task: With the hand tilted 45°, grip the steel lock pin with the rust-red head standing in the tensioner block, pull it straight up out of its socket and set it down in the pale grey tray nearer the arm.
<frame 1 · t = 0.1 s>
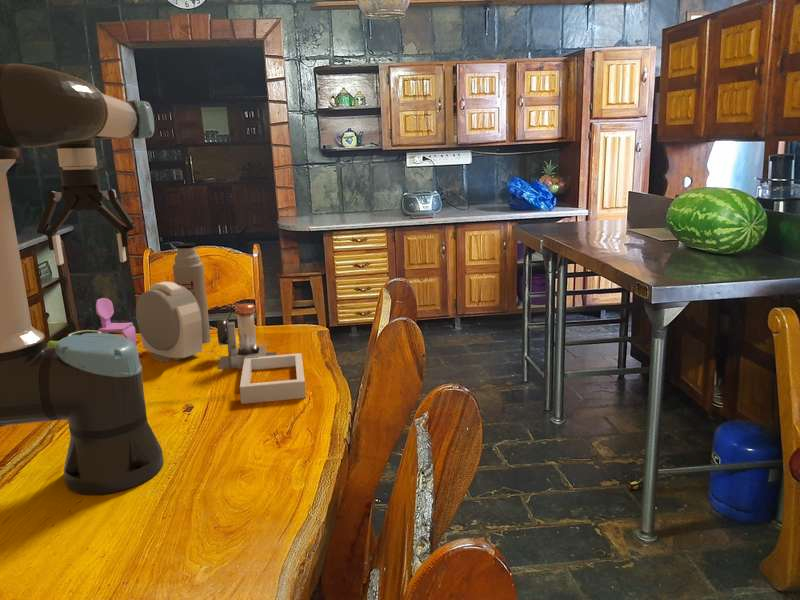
hand: (92, 262, 142), 28 cm above the table, tool pointing down, fingers open, 13 cm apart
toy chair: (117, 352, 168), on the table
turtle holder: (86, 382, 147), on the table
tensioner block: (248, 364, 156), on the table
thermos bottle: (196, 342, 176), on the table
tray: (274, 384, 142), on the table
lock pin: (249, 362, 154), point 1 cm above the table, touching tensioner block
beige rounded housing: (173, 359, 162), on the table
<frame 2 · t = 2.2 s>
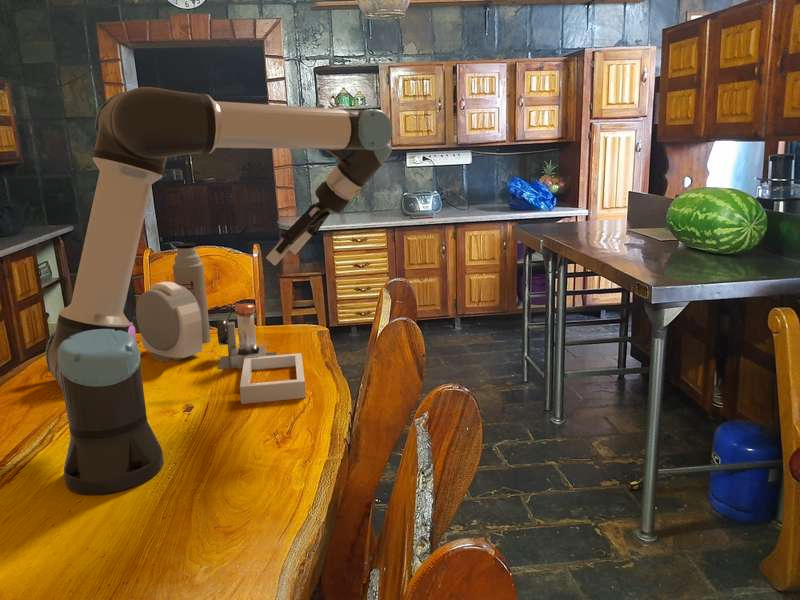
hand: (281, 256, 147), 28 cm above the table, tool tilted 45°, fingers open, 13 cm apart
nothing on the table moved.
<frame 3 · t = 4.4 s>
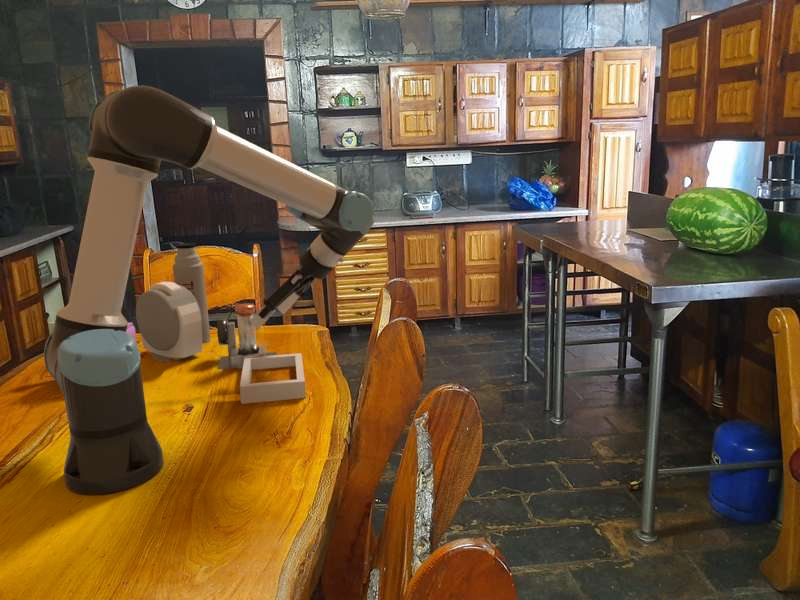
hand: (267, 317, 150), 13 cm above the table, tool tilted 45°, fingers open, 13 cm apart
nothing on the table moved.
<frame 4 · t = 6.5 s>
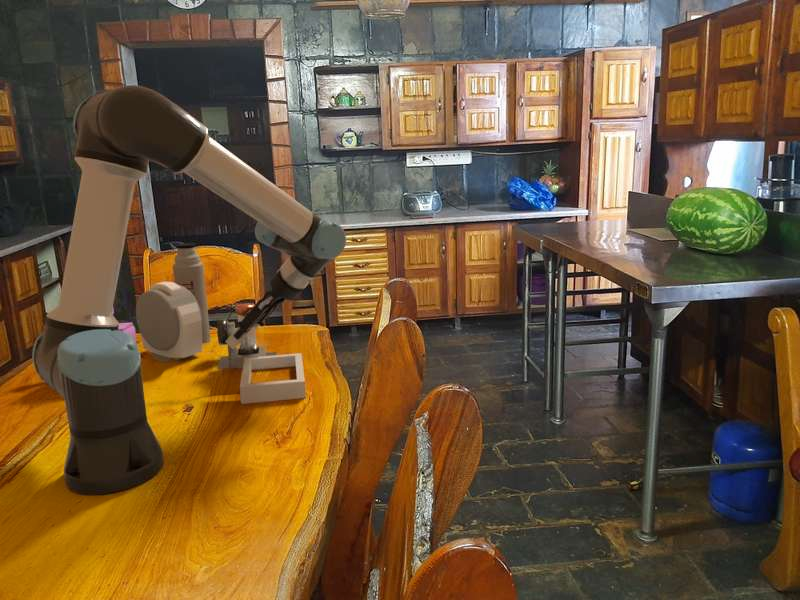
hand: (234, 342, 153), 6 cm above the table, tool tilted 45°, fingers closed on lock pin, 4 cm apart
lock pin: (249, 362, 154), point 1 cm above the table, touching gripper, tensioner block
everything else where it was.
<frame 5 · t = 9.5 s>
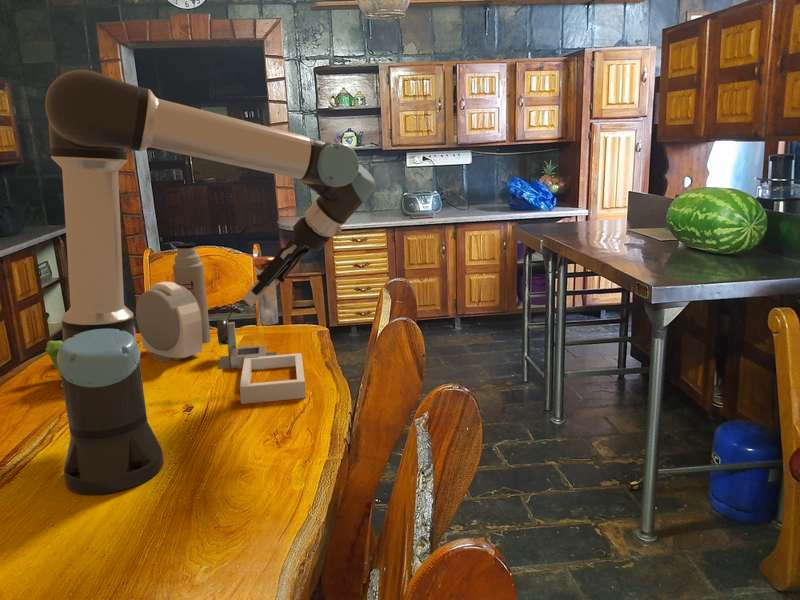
hand: (252, 299, 138), 20 cm above the table, tool tilted 45°, fingers closed on lock pin, 4 cm apart
lock pin: (269, 322, 139), point 15 cm above the table, touching gripper
everything else where it was.
when the fingers open (7 cm above the table, at t = 12.6 s): lock pin stays where it is, resting on tray.
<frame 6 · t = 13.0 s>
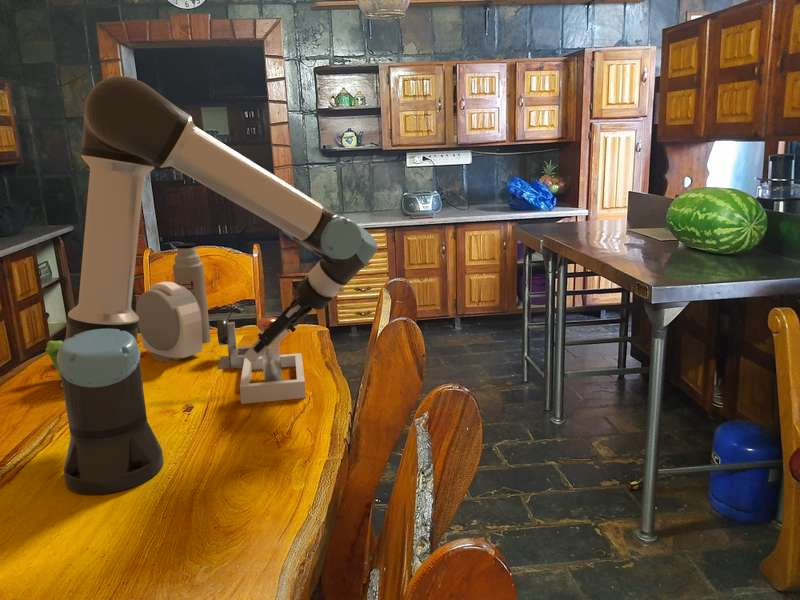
hand: (258, 352, 141), 8 cm above the table, tool tilted 45°, fingers open, 9 cm apart
lock pin: (273, 381, 142), point 1 cm above the table, touching tray
everything else where it was.
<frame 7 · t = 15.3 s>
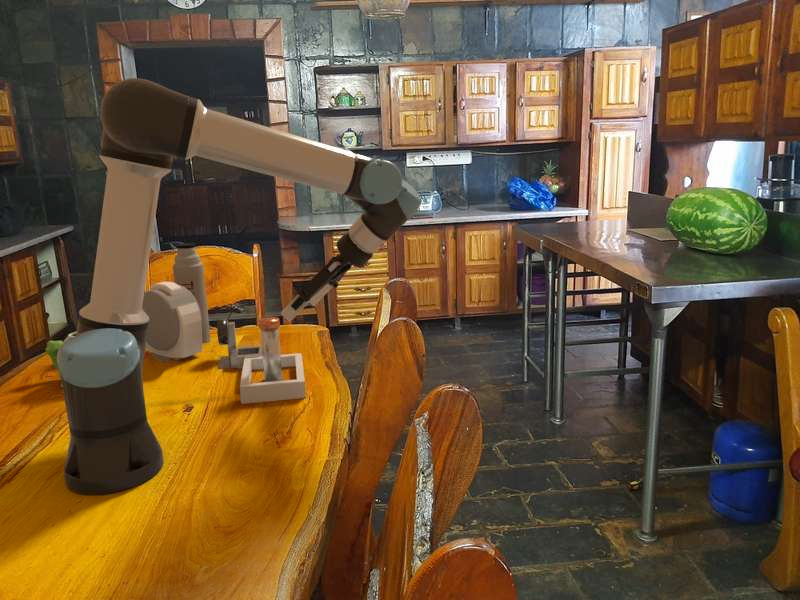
hand: (298, 309, 136), 18 cm above the table, tool tilted 45°, fingers open, 13 cm apart
nothing on the table moved.
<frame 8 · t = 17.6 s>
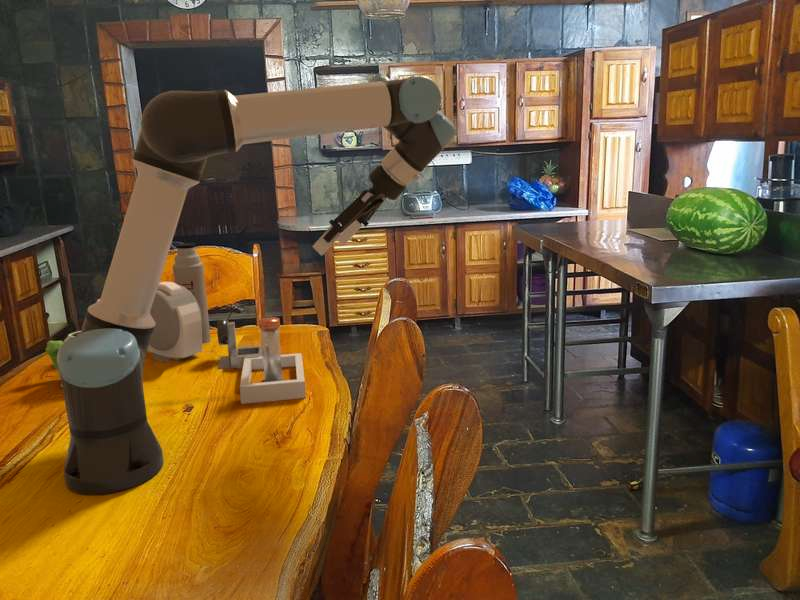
hand: (328, 246, 135), 32 cm above the table, tool tilted 45°, fingers open, 13 cm apart
nothing on the table moved.
at the end: lock pin inside the target area on the tray (0.1 cm from its centre), point 0.8 cm above the tray's base; the gripper is holding nothing; lock pin moved 14.7 cm from its start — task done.
